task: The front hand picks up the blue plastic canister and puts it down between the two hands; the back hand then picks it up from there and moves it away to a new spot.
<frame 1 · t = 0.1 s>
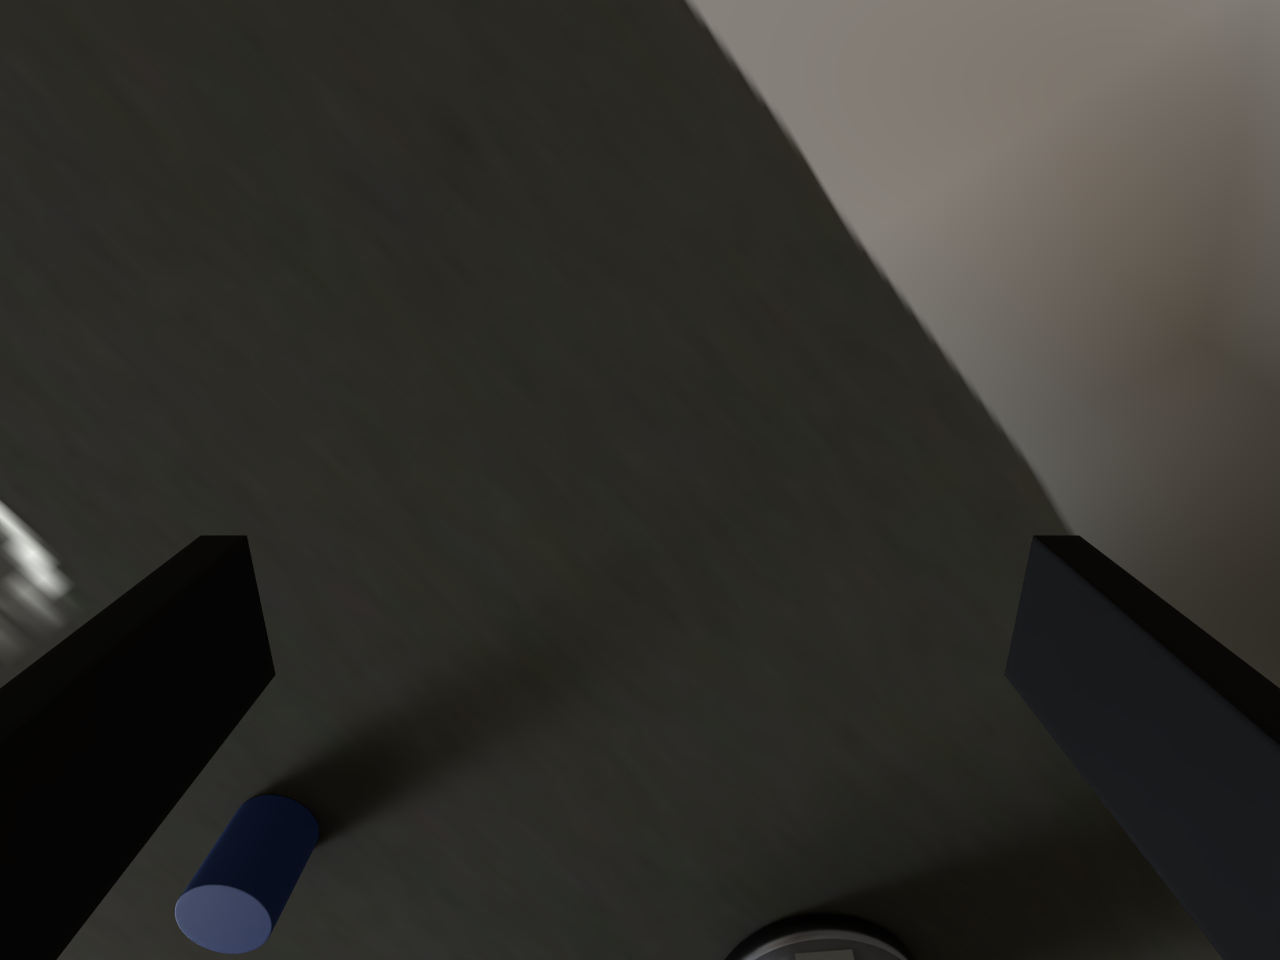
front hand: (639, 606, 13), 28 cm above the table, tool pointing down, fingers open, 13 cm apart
canister: (277, 827, 51), on the table
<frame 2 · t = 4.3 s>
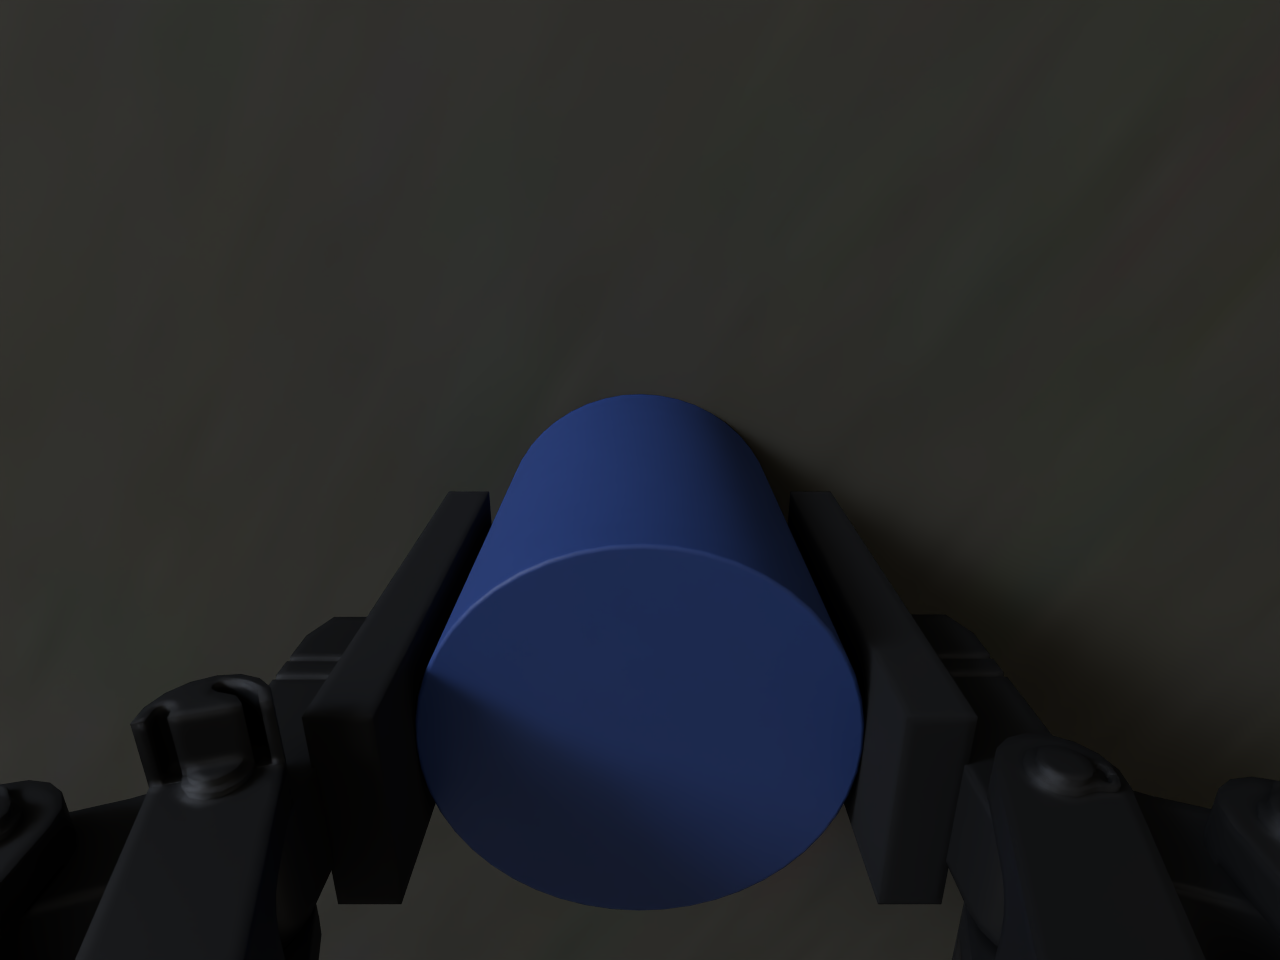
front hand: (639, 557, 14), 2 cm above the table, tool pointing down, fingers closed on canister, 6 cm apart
canister: (639, 522, 16), on the table, touching front hand
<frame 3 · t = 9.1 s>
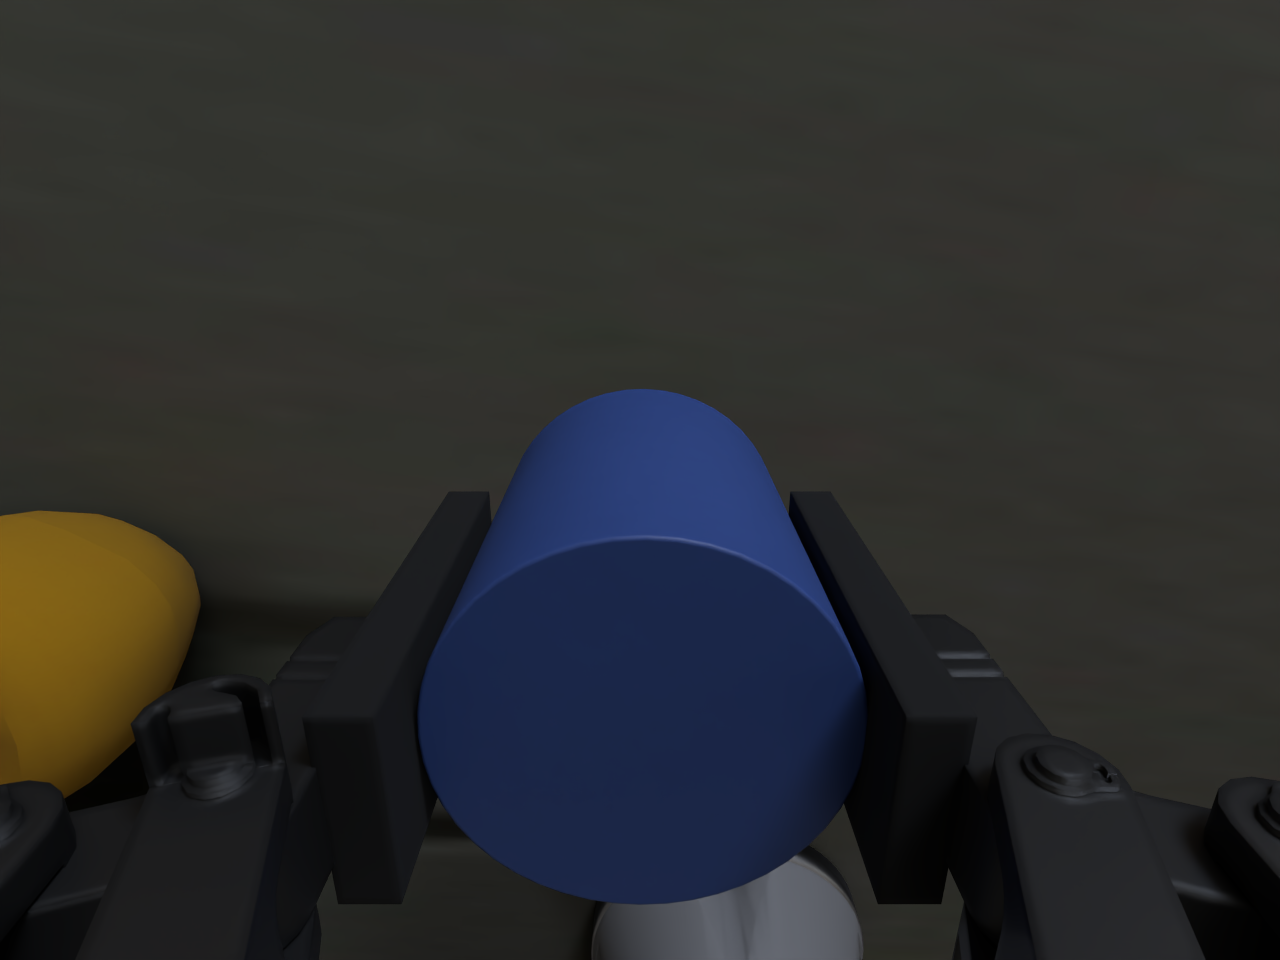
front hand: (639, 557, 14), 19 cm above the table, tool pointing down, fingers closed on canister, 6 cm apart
canister: (641, 518, 16), point 17 cm above the table, touching front hand
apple: (138, 567, 35), on the table
when the front hand's fingers open (3 cm above the table, at t = 14.0 s): canister drops 1 cm, on the table.
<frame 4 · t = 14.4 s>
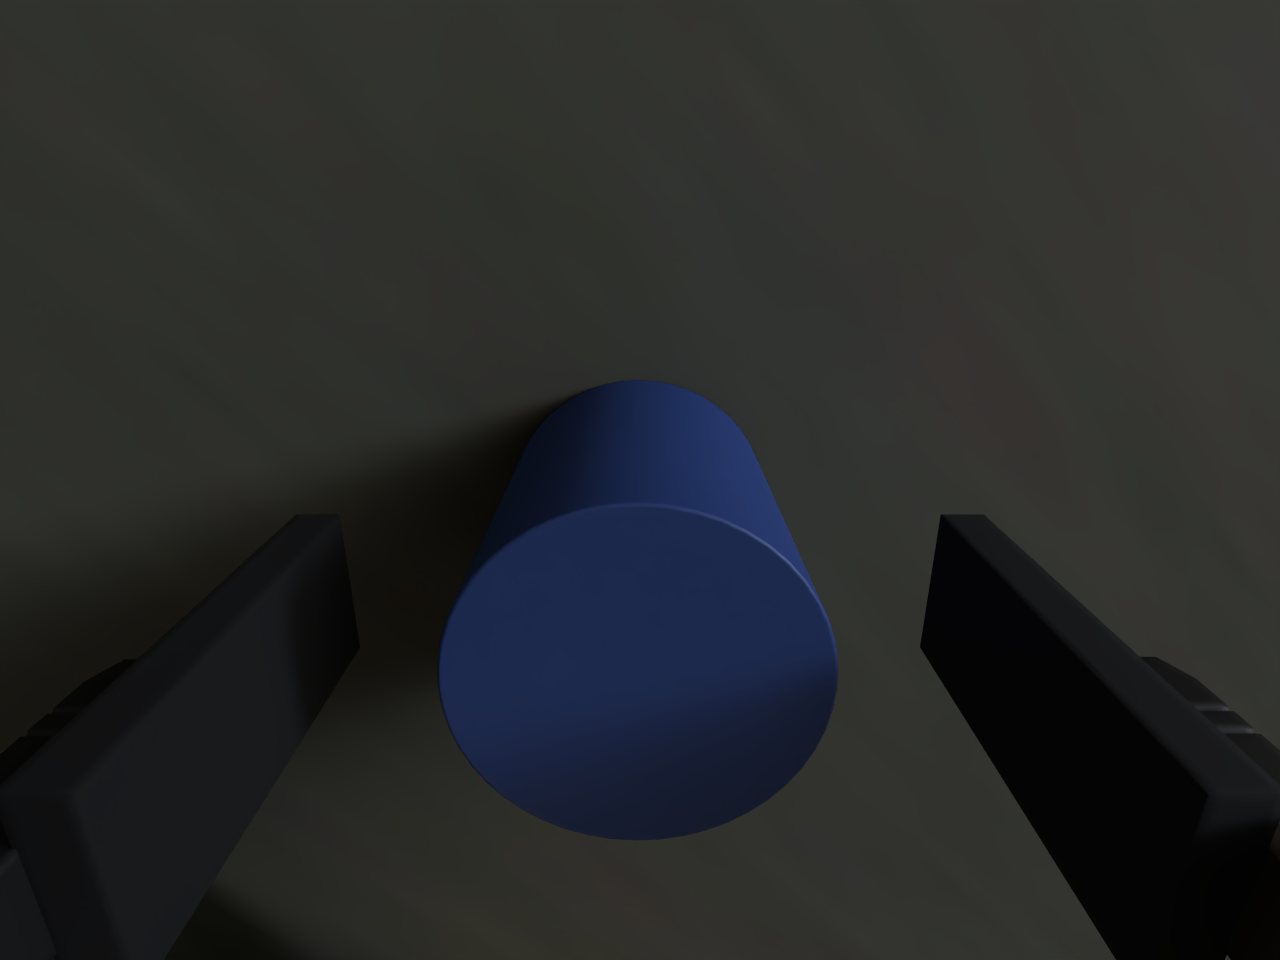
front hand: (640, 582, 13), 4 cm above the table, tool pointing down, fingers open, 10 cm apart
canister: (638, 501, 17), on the table
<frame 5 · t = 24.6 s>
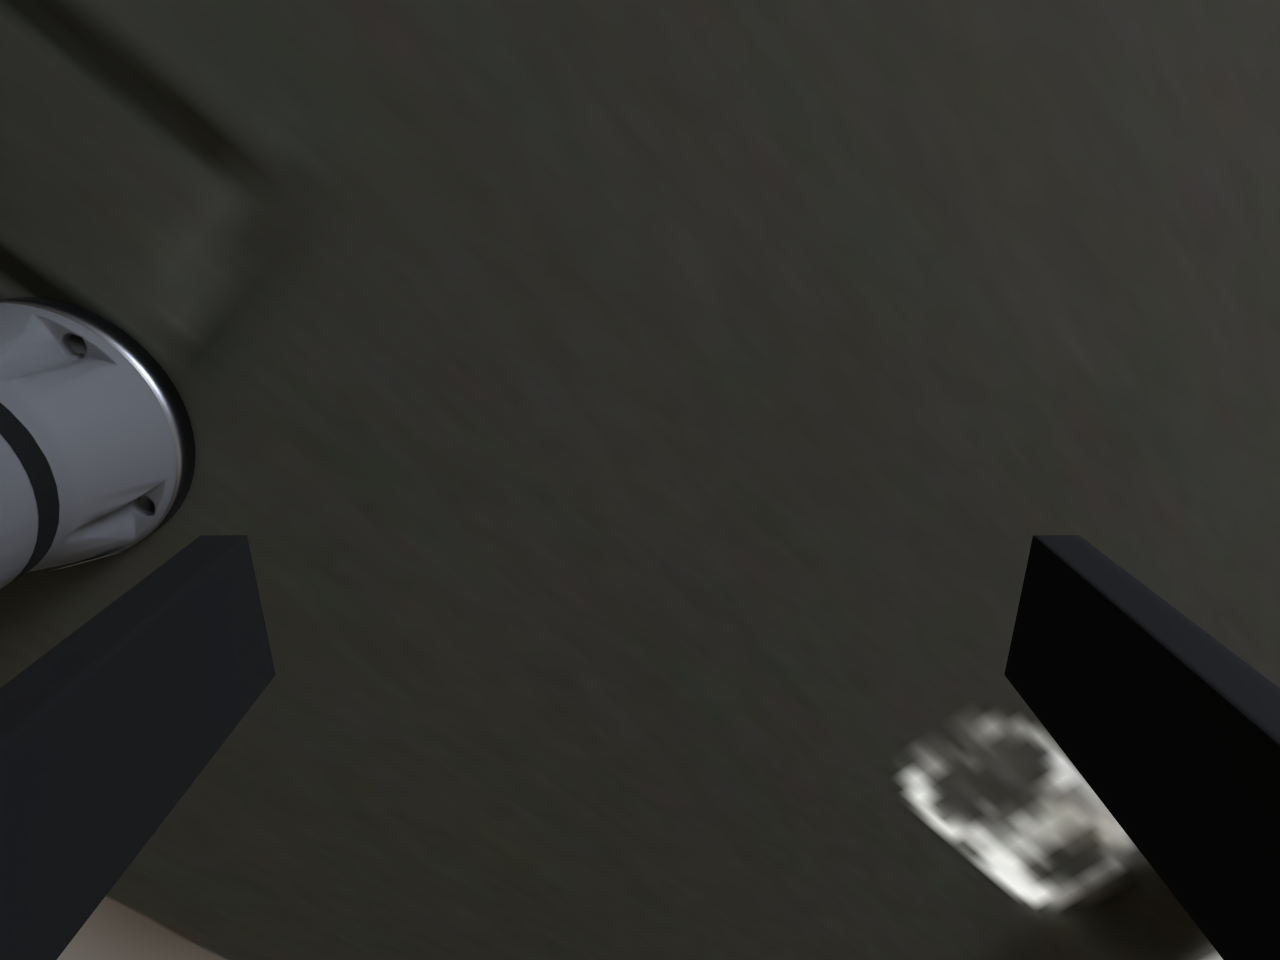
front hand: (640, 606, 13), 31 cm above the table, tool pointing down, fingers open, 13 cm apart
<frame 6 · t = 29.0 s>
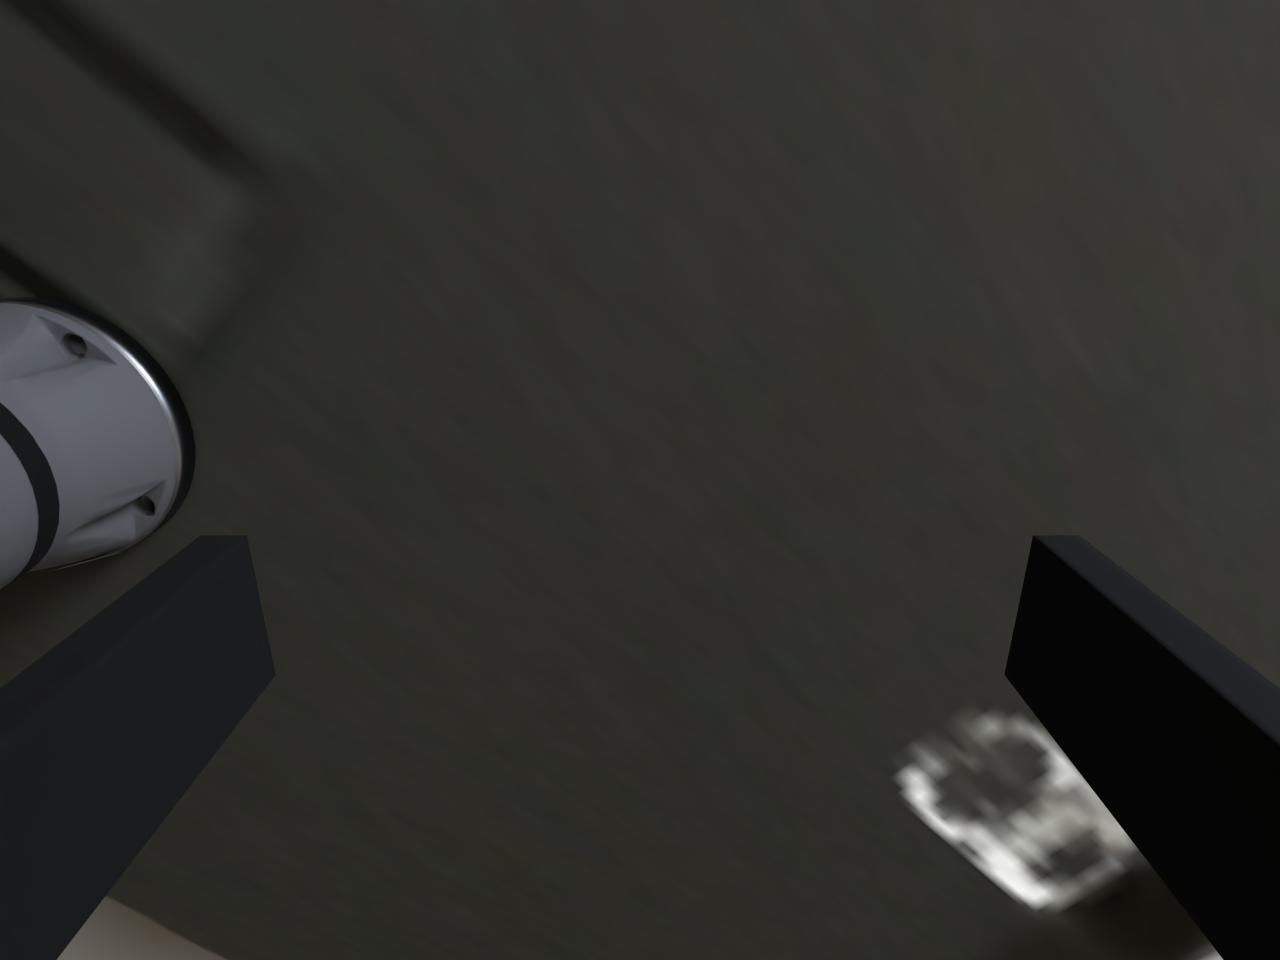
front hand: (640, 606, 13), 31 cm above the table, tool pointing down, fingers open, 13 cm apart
when the back hand's fingers open (3 cm above the table, at t = 33.5 s): canister drops 1 cm, on the table.
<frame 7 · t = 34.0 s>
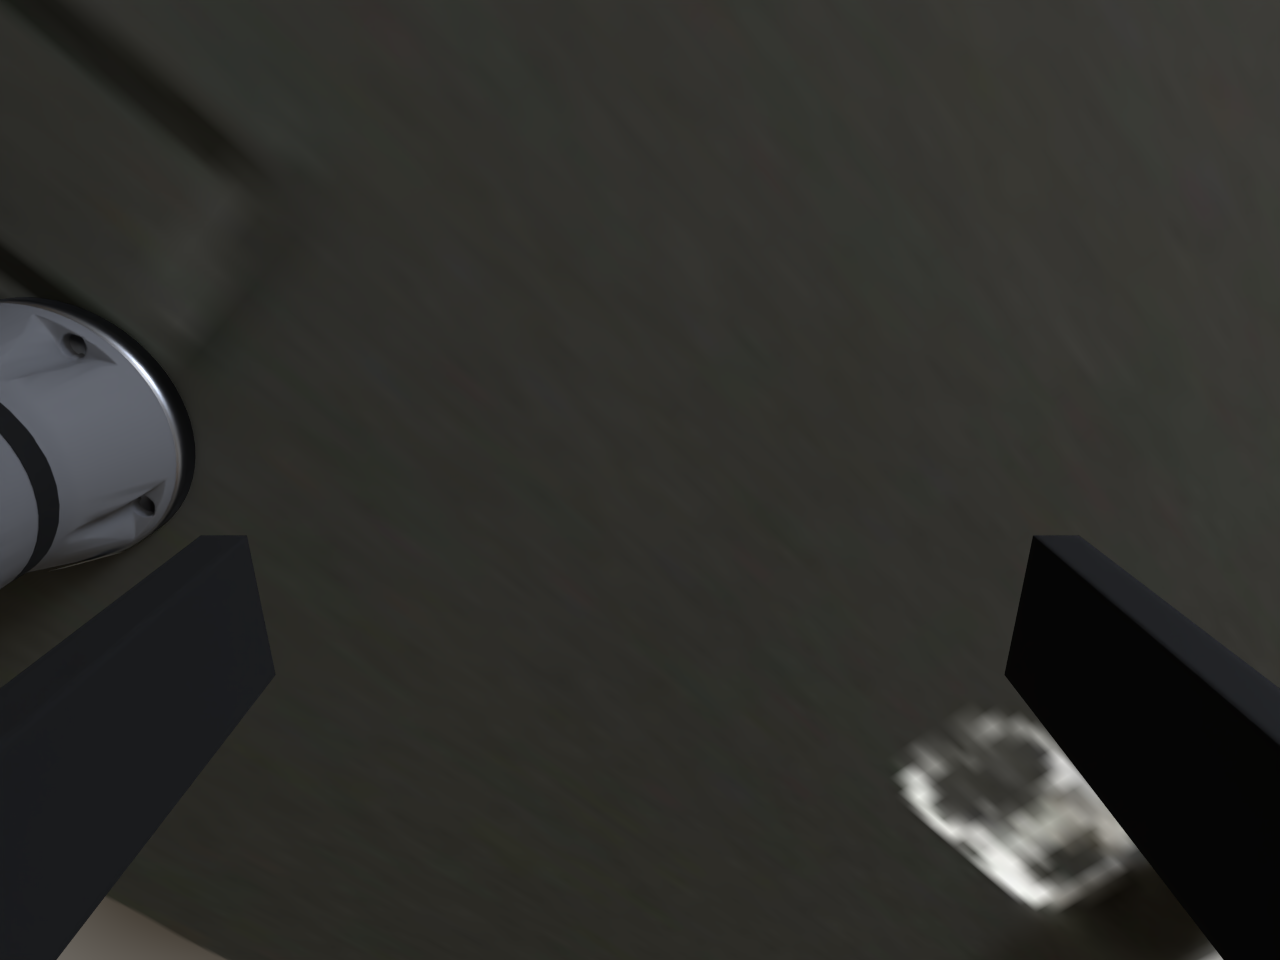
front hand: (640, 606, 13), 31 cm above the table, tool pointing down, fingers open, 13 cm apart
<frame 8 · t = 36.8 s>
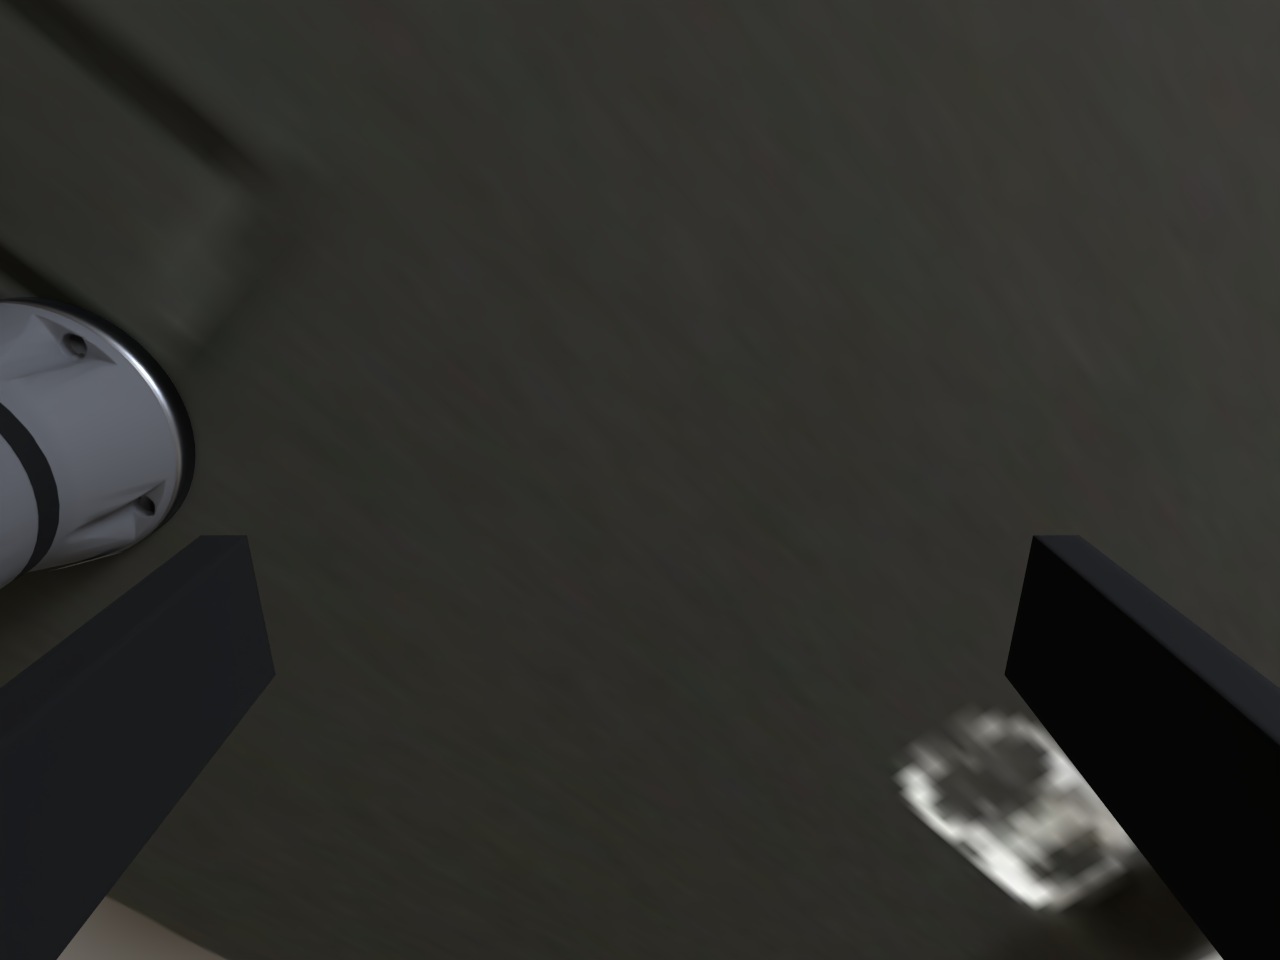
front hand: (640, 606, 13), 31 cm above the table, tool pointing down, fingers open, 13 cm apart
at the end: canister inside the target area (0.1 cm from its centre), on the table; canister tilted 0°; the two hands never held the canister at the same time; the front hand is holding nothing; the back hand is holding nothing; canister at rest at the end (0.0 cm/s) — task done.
